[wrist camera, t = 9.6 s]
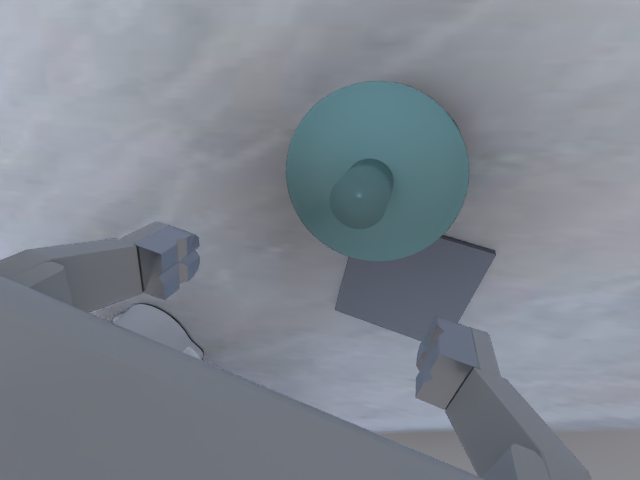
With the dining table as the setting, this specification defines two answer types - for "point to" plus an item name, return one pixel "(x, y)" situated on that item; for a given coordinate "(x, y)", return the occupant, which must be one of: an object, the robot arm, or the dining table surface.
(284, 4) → the dining table surface
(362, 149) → the lid
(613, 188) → the dining table surface
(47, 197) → the dining table surface
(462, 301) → the mat
